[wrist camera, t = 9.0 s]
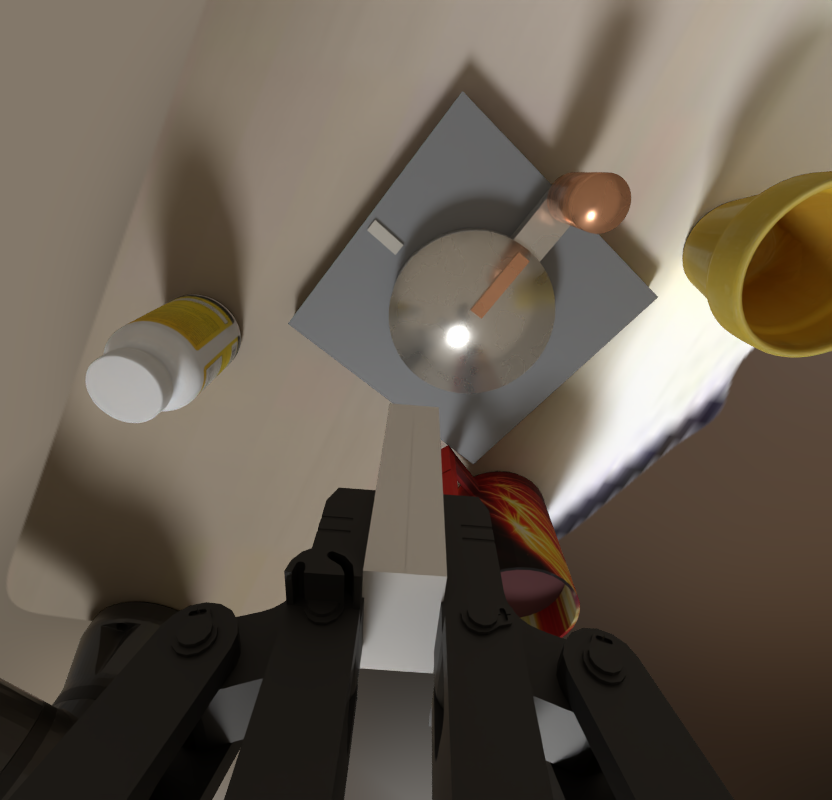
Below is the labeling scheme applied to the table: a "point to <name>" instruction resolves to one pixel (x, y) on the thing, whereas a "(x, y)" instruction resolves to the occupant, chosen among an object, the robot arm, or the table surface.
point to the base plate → (451, 210)
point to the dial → (493, 289)
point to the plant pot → (770, 266)
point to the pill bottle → (163, 358)
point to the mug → (521, 545)
